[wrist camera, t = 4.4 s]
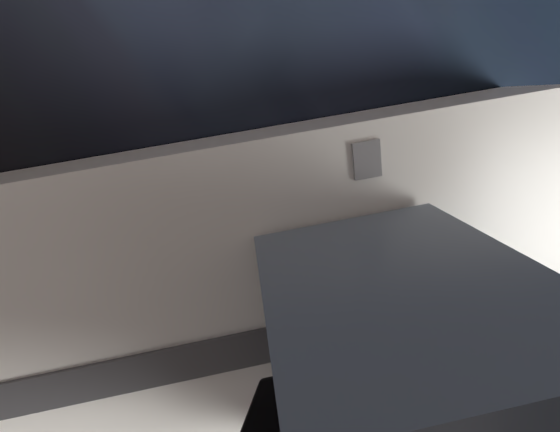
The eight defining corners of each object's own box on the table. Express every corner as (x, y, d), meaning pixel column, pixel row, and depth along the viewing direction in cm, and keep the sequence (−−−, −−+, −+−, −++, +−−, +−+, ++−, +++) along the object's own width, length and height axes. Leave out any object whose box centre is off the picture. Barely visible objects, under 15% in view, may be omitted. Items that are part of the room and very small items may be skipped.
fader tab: (431, 403, 10) (611, 682, 5) (292, 435, 10) (348, 760, 5) (428, 203, 8) (719, 359, 3) (253, 236, 8) (283, 460, 3)
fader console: (487, 363, 13) (543, 423, 11) (-250, 528, 12) (-379, 643, 9) (501, 86, 10) (588, 82, 8) (-527, 262, 8) (-844, 331, 6)
